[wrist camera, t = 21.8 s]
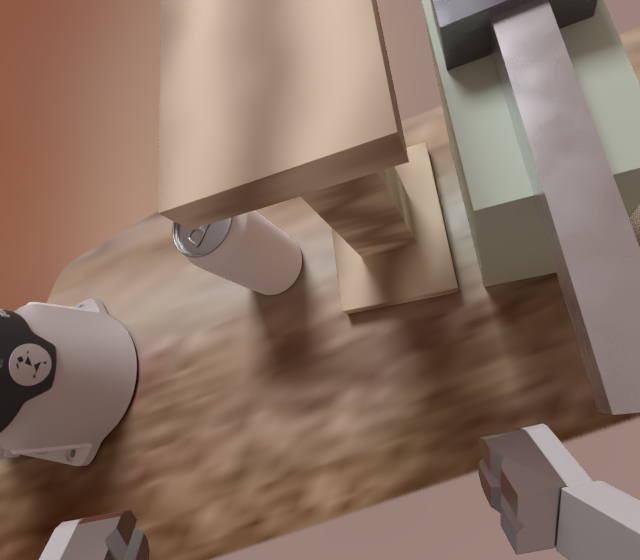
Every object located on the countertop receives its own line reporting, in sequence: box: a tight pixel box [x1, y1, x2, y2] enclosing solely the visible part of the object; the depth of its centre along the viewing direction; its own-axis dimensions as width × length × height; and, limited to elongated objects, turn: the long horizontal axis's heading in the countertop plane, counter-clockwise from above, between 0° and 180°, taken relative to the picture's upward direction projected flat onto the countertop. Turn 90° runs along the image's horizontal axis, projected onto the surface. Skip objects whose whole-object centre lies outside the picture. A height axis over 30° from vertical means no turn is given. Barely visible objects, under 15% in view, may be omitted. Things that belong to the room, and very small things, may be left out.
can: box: [172, 210, 302, 295], centre depth 38 cm, size 6×6×12 cm
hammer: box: [430, 0, 640, 415], centre depth 18 cm, size 7×22×3 cm, turn 7°
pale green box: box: [421, 0, 640, 287], centre depth 28 cm, size 8×14×16 cm, turn 7°
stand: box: [159, 0, 459, 314], centre depth 28 cm, size 10×14×24 cm
